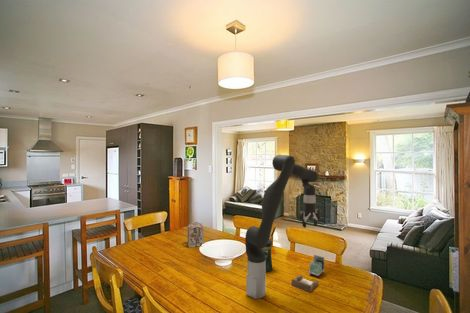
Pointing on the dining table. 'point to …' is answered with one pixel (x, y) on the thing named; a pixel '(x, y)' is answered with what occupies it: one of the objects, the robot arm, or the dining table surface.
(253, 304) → the dining table surface
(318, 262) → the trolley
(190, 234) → the decorative jar
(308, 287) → the bay
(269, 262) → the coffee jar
